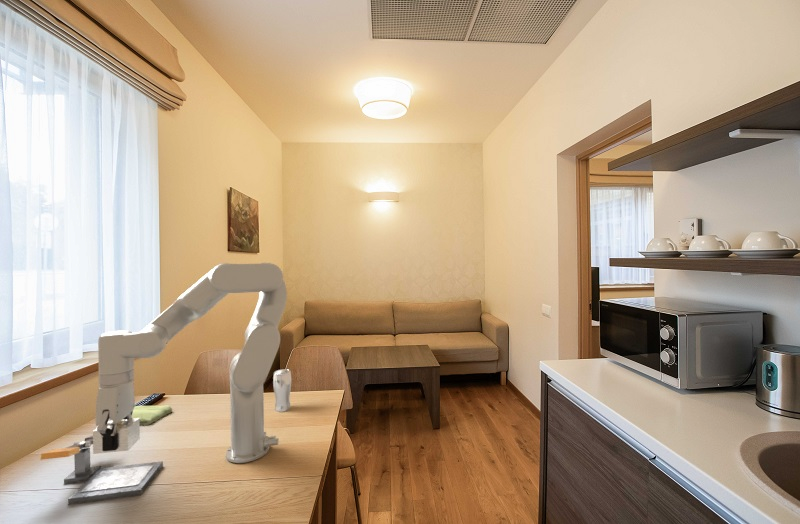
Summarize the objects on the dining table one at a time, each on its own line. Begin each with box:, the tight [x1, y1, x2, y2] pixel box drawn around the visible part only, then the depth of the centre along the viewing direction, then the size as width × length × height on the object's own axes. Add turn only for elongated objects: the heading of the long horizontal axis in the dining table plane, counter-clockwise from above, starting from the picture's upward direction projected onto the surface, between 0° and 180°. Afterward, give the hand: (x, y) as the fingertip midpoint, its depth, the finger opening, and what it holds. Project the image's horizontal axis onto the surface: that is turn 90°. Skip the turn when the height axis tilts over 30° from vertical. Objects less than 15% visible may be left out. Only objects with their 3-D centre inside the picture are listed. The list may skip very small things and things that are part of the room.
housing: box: [92, 418, 141, 455], centre depth 96 cm, size 8×6×8 cm
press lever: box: [40, 435, 93, 461], centre depth 100 cm, size 6×21×2 cm, turn 12°
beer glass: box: [272, 368, 292, 413], centre depth 143 cm, size 7×7×15 cm
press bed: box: [63, 447, 164, 505], centre depth 97 cm, size 23×15×7 cm, turn 102°
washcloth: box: [131, 404, 173, 426], centre depth 137 cm, size 13×18×3 cm
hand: (117, 443), depth 96 cm, fingers closed on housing, 6 cm apart
